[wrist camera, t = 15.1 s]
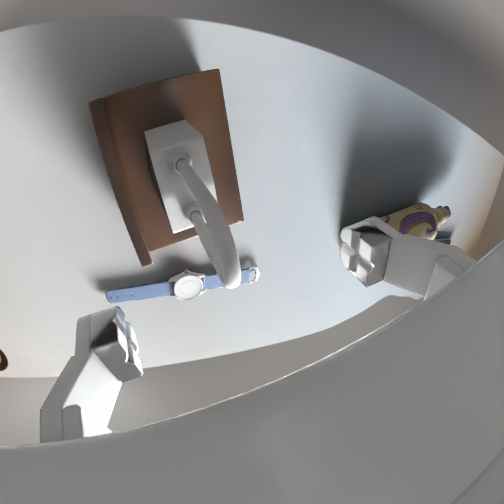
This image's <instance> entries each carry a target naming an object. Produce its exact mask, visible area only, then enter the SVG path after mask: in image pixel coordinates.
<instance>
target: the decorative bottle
mask: <svg viewBox="0 0 504 504" xmlns="http://www.w3.org/2000/svg"><path fill="white" fill-rule="evenodd" d="M450 215H451V212H450V209H449V207H448V206H445V207H442V206H439V207H437V208H431V207H430V206H429V205H427V204H424V203H417V204H415V205H413V206H410V207H407V208H404V209H402V210H400V211H397V212H394V213H392V214H389V215H386V216H383V217H380V218H379V219H381V220H382V221H384V222H385V223H387V224H388V225H390V226H391V227H393V228H394V229H395V230H397V231H398V232H400V233H401V234H403V235H404V234H409V235H413V236H417V237H421V238H425V239H429V240H433V239H434V238H435V236H436V235H437V231H438V227H439V226H440V225H441V224H442V222H445V221H446V220H447V219H448V218H449V217H450ZM342 243H343V240H342V239H341V235H340V239H339V249H340V247H341V245H342ZM350 272H351V273H352V274H353V275H354V276H356V273H355V272H352V271H350Z"/></svg>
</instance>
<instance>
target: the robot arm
mask: <svg viewBox="0 0 504 504" xmlns="http://www.w3.org/2000/svg"><path fill="white" fill-rule="evenodd" d="M341 239H342V240H343V243H342V245H341V247H340V257H341V261H342V263H343V265H344V266H345V267H346V268H347V269H348V270H349V271H352V272H355V273H356V278H357V279H358V280H359V281H360V282H361V283H362V284H363V285H364V286H365V287H366V288H367V287H369V286H371V285H373V284H375V283H377V282H380V281H382V280H384V281H385V282H388V283H390V284H393V285H395V286H397V287H400V288H402V289H404V290H407V291H409V292H412V293H414V294H416V295H419V296H421V297H423V298H424V300H423V301H422V302H420V303H419V304H417V305H416V306H414V307H413V308H411V309H410V310H408V311H407V312H405V313H403V314H402V315H400V316H398V317H397V318H395V319H394V320H392V321H390V322H389V323H387V324H385V325H383V326H382V327H380V328H378V329H377V330H375V331H373V332H372V333H370V334H368V335H366V336H364V337H363V338H361V339H359V340H357V341H355V342H354V343H352V344H350V345H348V346H346V347H344V348H343V349H340V350H339V351H337V352H334V353H332V354H330V355H329V356H327V357H325V358H322V359H321V360H318V361H317V362H314V363H312V364H310V365H308V366H306V367H304V368H302V369H299V370H297V371H295V372H293V373H291V374H288V375H286V376H284V377H281V378H279V379H277V380H275V381H272V382H270V383H268V384H265V385H263V386H260V387H258V388H256V389H253V390H250V391H248V392H245V393H243V394H240V395H237V396H234V397H232V398H229V399H226V400H224V401H221V402H218V403H215V404H212V405H209V406H206V407H203V408H200V409H197V410H194V411H191V412H188V413H184V414H181V415H178V416H175V417H171V418H167V419H164V420H160V421H157V422H153V423H149V424H145V425H141V426H137V427H133V428H129V429H125V430H120V431H115V432H112V431H111V430H109V429H108V428H107V424H108V421H109V418H110V415H111V412H112V409H113V406H114V404H115V401H116V398H117V395H118V392H119V389H120V387H121V383H122V382H125V381H128V380H131V379H134V378H137V377H140V376H143V371H142V365H141V359H140V358H139V357H138V355H137V352H138V350H139V346H138V341H137V338H136V335H135V332H134V330H133V328H132V326H131V325H130V323H128V322H126V321H125V317H124V313H123V311H122V310H121V308H120V307H119V306H116V307H112V308H109V309H106V310H103V311H100V312H96V313H93V314H91V315H87V316H84V317H81V318H79V319H78V321H77V330H76V344H75V356H72V357H71V358H70V360H69V361H68V363H67V365H66V366H65V368H64V369H63V371H62V373H61V374H60V376H59V378H58V379H57V381H56V383H55V385H54V386H53V388H52V390H51V391H50V393H49V395H48V397H47V398H46V400H45V402H44V404H43V406H42V407H41V409H40V443H38V444H27V445H11V446H0V504H504V240H503V241H502V242H501V243H499V244H498V245H497V246H496V247H495V248H494V249H492V250H491V251H490V252H489V253H487V254H486V255H485V256H484V257H483V258H481V259H480V260H479V261H478V262H477V261H475V260H474V259H473V258H472V257H470V256H469V255H468V254H466V253H465V252H464V251H462V250H461V249H460V248H458V247H457V246H453V245H449V244H445V243H441V242H437V241H433V240H429V239H425V238H421V237H417V236H413V235H409V234H404V235H403V234H401V233H400V232H398V231H397V230H395V229H394V228H393V227H391V226H390V225H388V224H387V223H385V222H384V221H382V220H381V219H379V218H378V217H374V216H373V217H370V218H368V219H365V220H363V221H361V222H358V223H355V224H353V225H350V226H347V227H344V228H343V229H342V231H341Z"/></svg>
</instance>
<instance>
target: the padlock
mask: <svg viewBox="0 0 504 504" xmlns="http://www.w3.org/2000/svg"><path fill="white" fill-rule="evenodd" d="M144 133H145V142H146V151H147V159H148V167H149V174H150V177H151V180H152V182H153V185H154V186H155V188H156V191H157V194H158V196H159V199H160V201H161V204H162V206H163V209H164V211H165V214H166V216H167V219H168V221H169V224H170V226H171V228H172V231H173V233H176V232H179V231H182V230H185V229H188V228H191V227H195V229H196V231H197V233H198V235H199V237H200V240H201V242H202V244H203V246H204V248H205V250H206V252H207V254H208V256H209V258H210V260H211V262H212V264H213V266H214V268H215V270H216V272H217V274H218V276H219V278H220V280H221V281H222V283H223V284H224V285H225V286H226V287H227V288H231V289H232V288H236V287H237V286H238V285H239V284H240V281H241V268H240V262H239V258H238V253H237V250H236V246H235V243H234V240H233V237H232V234H231V231H230V228H229V225H228V223H227V220H226V218H225V216H224V214H223V212H222V210H221V208H220V206H219V205H218V202H217V197H216V191H215V186H214V181H213V176H212V172H211V168H210V164H209V160H208V155H207V151H206V147H205V143H204V138H203V136H202V135H201V134H200V133H199V132H198V131H197V130H196V129H195V128H194V127H193V126H192V125H191V124H189V123H188V122H187V121H186V120H182V121H178V122H174V123H171V124H167V125H164V126H160V127H157V128H154V129H151V130H147V131H144ZM206 222H207V224H208V226H207V224H206ZM208 227H209V228H208Z"/></svg>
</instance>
